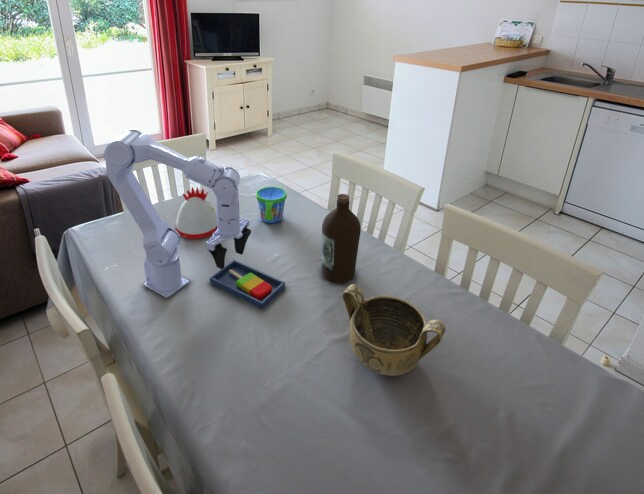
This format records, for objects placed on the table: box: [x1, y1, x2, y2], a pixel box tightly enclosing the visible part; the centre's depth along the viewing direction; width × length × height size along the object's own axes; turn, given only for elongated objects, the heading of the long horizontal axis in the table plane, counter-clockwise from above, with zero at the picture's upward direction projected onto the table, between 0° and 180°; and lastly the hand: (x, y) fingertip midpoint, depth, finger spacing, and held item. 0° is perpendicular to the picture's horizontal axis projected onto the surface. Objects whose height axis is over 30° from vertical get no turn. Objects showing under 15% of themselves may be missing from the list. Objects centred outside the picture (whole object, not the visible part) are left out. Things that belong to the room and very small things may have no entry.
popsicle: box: [229, 269, 272, 300], centre depth 117 cm, size 6×15×2 cm, turn 48°
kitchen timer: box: [175, 186, 217, 240], centre depth 142 cm, size 14×14×15 cm
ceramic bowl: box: [342, 283, 446, 377], centre depth 93 cm, size 22×17×15 cm
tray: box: [209, 259, 286, 310], centre depth 117 cm, size 18×10×2 cm, turn 57°
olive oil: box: [321, 193, 362, 285], centre depth 119 cm, size 11×11×25 cm
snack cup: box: [255, 186, 288, 224], centre depth 149 cm, size 16×10×10 cm
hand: (230, 260), depth 114 cm, fingers open, 7 cm apart
